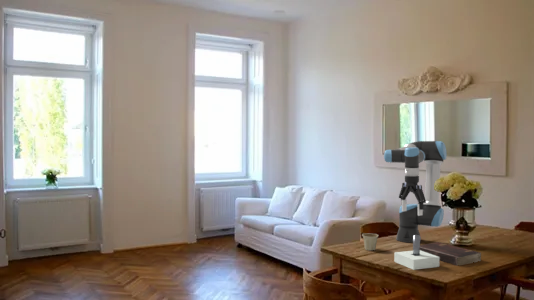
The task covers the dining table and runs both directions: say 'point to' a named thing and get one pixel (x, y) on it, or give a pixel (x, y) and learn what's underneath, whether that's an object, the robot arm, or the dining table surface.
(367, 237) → the flower pot
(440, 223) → the robot arm
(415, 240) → the pin
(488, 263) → the dining table surface
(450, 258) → the hardback book
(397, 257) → the bore block
